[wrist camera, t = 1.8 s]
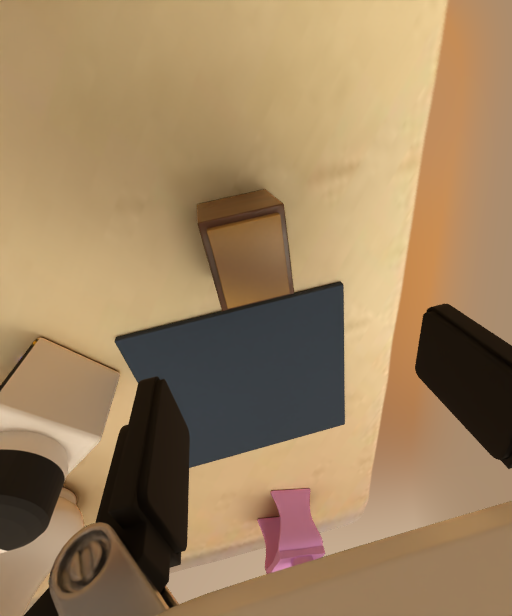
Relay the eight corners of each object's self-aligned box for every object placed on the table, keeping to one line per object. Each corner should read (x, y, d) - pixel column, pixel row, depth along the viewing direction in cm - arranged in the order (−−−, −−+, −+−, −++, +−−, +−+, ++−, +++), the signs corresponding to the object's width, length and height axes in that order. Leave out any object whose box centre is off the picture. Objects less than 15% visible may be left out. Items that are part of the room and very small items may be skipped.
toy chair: (250, 522, 46) (272, 669, 33) (264, 491, 42) (295, 646, 29) (298, 517, 48) (335, 654, 36) (316, 487, 44) (365, 630, 32)
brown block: (196, 204, 20) (197, 225, 16) (265, 188, 21) (286, 205, 16) (217, 279, 24) (223, 315, 19) (276, 265, 24) (296, 297, 19)
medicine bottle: (39, 334, 23) (-79, 490, 13) (122, 371, 27) (79, 519, 16) (-1, 388, 25) (-132, 561, 15) (81, 417, 28) (20, 574, 18)
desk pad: (115, 337, 25) (114, 341, 24) (340, 281, 26) (343, 284, 25) (186, 464, 35) (186, 469, 35) (342, 420, 37) (344, 424, 36)
